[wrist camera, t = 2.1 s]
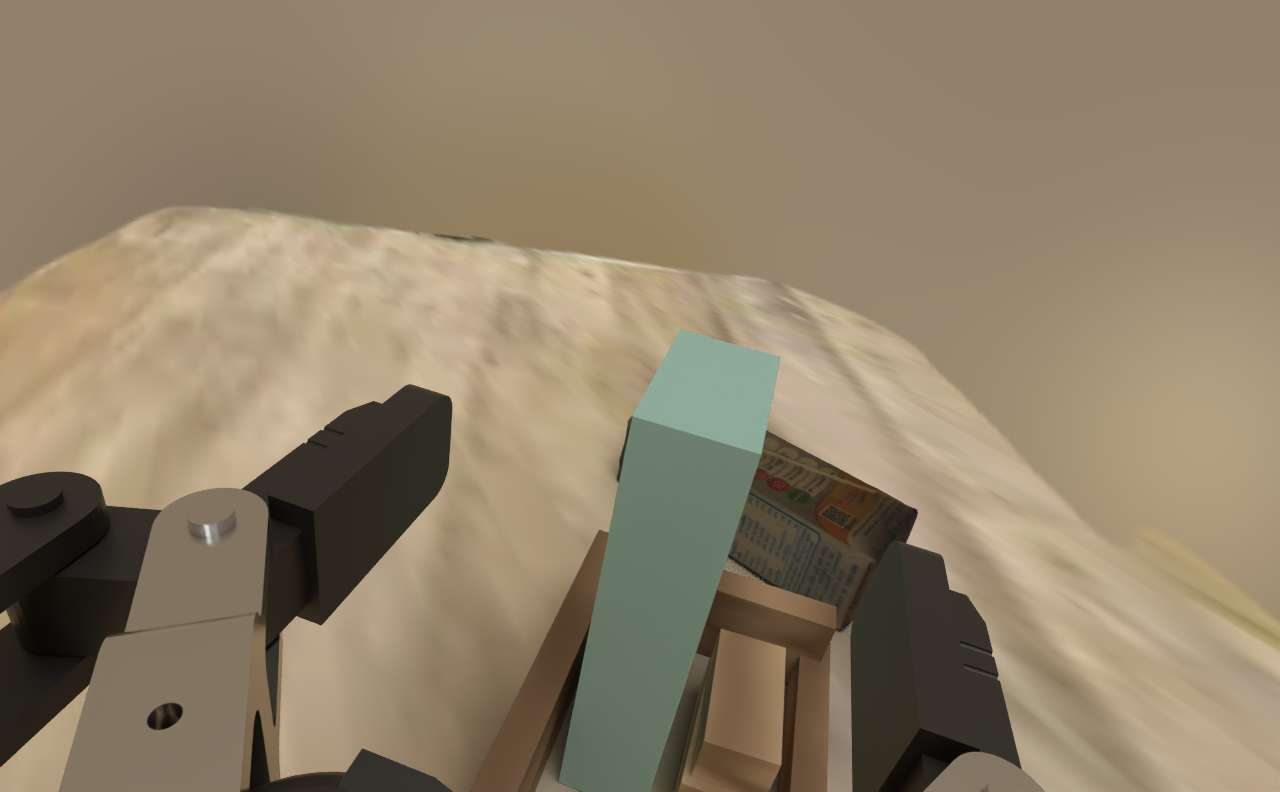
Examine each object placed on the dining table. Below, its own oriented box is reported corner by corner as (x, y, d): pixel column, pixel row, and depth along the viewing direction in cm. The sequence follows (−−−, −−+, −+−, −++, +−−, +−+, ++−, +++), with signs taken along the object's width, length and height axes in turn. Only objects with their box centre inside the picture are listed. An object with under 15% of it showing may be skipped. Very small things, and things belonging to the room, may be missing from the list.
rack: (816, 669, 38) (845, 609, 36) (802, 1006, 25) (846, 948, 23) (587, 592, 40) (599, 529, 38) (461, 866, 27) (466, 799, 25)
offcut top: (771, 682, 34) (785, 647, 32) (764, 800, 29) (781, 765, 27) (708, 663, 34) (720, 628, 33) (690, 776, 29) (704, 741, 28)
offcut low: (763, 717, 36) (780, 678, 34) (744, 853, 30) (763, 815, 28) (697, 692, 36) (711, 653, 35) (666, 822, 30) (681, 782, 29)
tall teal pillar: (675, 685, 36) (780, 357, 26) (642, 814, 30) (761, 454, 20) (605, 660, 37) (680, 329, 26) (558, 782, 31) (632, 416, 20)
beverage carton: (675, 444, 56) (692, 375, 52) (892, 578, 47) (930, 505, 43) (611, 482, 50) (626, 407, 47) (844, 643, 41) (884, 564, 38)
